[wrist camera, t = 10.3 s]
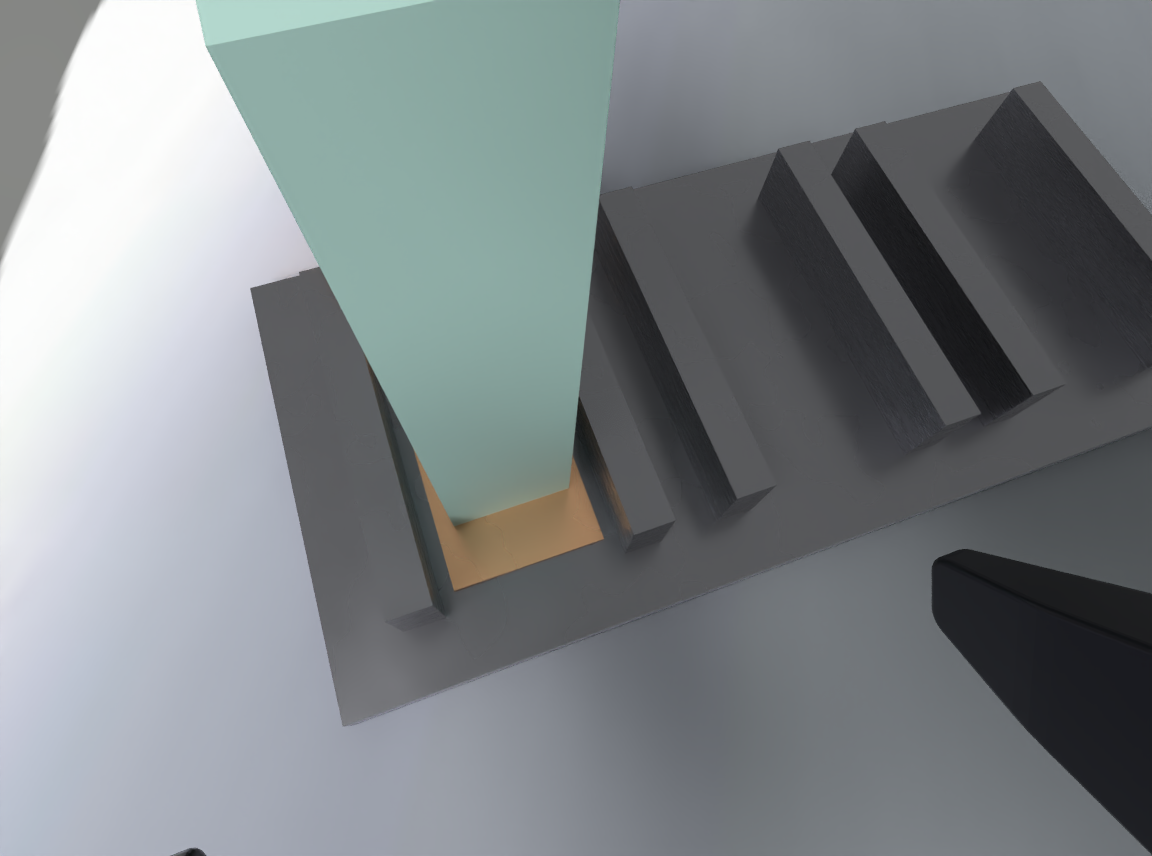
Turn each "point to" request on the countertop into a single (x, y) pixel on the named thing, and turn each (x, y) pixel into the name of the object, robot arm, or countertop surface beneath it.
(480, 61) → the block
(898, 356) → the stand
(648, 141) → the countertop surface
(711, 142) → the countertop surface
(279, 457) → the countertop surface
